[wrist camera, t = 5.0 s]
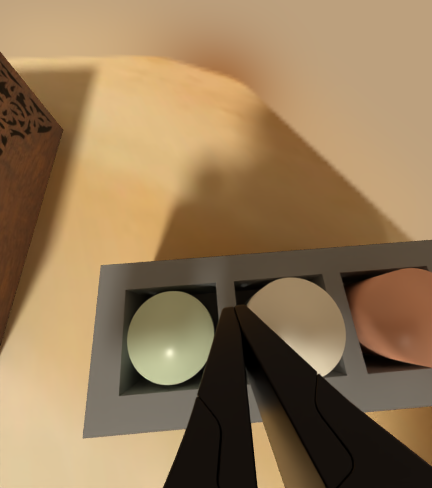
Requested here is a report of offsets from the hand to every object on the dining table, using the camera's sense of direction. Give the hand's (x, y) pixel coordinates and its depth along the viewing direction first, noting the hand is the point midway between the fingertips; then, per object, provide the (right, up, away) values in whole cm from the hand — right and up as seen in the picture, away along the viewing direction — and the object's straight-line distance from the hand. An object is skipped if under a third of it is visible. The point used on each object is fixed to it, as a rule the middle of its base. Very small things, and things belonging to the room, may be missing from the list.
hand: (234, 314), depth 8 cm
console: (+3, -4, +11) cm, 12 cm away
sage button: (-3, -4, +7) cm, 9 cm away
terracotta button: (+9, -2, +6) cm, 11 cm away
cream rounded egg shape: (+3, -3, +6) cm, 7 cm away
